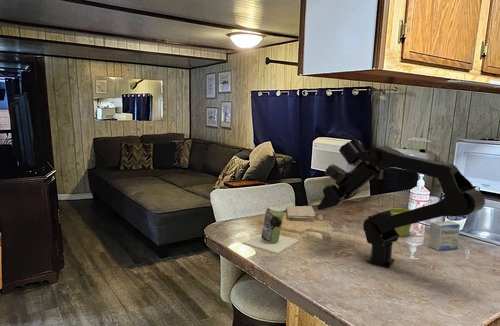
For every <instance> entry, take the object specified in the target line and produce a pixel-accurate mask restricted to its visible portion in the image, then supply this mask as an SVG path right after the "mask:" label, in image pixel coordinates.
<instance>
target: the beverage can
mask: <svg viewBox="0 0 500 326" xmlns="http://www.w3.org/2000/svg"><path fill="white" fill-rule="evenodd" d="M263 219H264V220H263V226H262V232H261V234H262V236H261V237H262V239H263V240H264V241H266V242H269V243H275V242H277V241H278V240H279V236H280V235H281V230H282V225H283V220H284V210H283V208H281V207H280V206H277V205H276V206H275V205H270V206H268V207H267V209H266V210H265V214H264V218H263Z"/></svg>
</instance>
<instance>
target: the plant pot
mask: <svg viewBox="0 0 500 326" xmlns="http://www.w3.org/2000/svg"><path fill="white" fill-rule="evenodd" d="M388 210H390V212H391V214H399V213H403V212H406V211H410V210H411V209H407V208H401V207H396V208H395V207H394V208H393V207H390V208H388V209H387V210H386V211H388ZM411 226H412V224H409V225H405V226H401V227H398V228H397V229H395V230H396V232H397V233H398V234H399V237H407V236H409V234H410V231H411Z"/></svg>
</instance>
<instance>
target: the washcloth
mask: <svg viewBox="0 0 500 326" xmlns="http://www.w3.org/2000/svg"><path fill="white" fill-rule="evenodd" d="M285 207H286V208H285V209H286V216H287V221H288V220H289V221H291V220H292V222H316V220H315V217H316V212H315V210H314V208H313V207H312V206H311V205H303V206H298V205H296V206H295V205H286V206H285Z"/></svg>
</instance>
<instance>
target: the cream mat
mask: <svg viewBox="0 0 500 326" xmlns="http://www.w3.org/2000/svg"><path fill="white" fill-rule="evenodd" d="M261 236H262V233H260V234H258V235H256V236H255V235H254V236H253V237H251V238H249V239H247V240H244V241H243V242H242V244H243V245H246V246H250V247H252V248H255V249H258V250H263V251H266V252H270V253H272V254H275V255H280V253H283V252H285V251H286V250H287V249H289V248H291V247H293V246H296V245H297V244H299V243H300V240H299V239H296V238H292V237H288V236H284V235H281V234H280V236H279V240H278V241H277V242H275V243H269V242H266V241H264V240H263V239H262V237H261Z"/></svg>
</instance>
